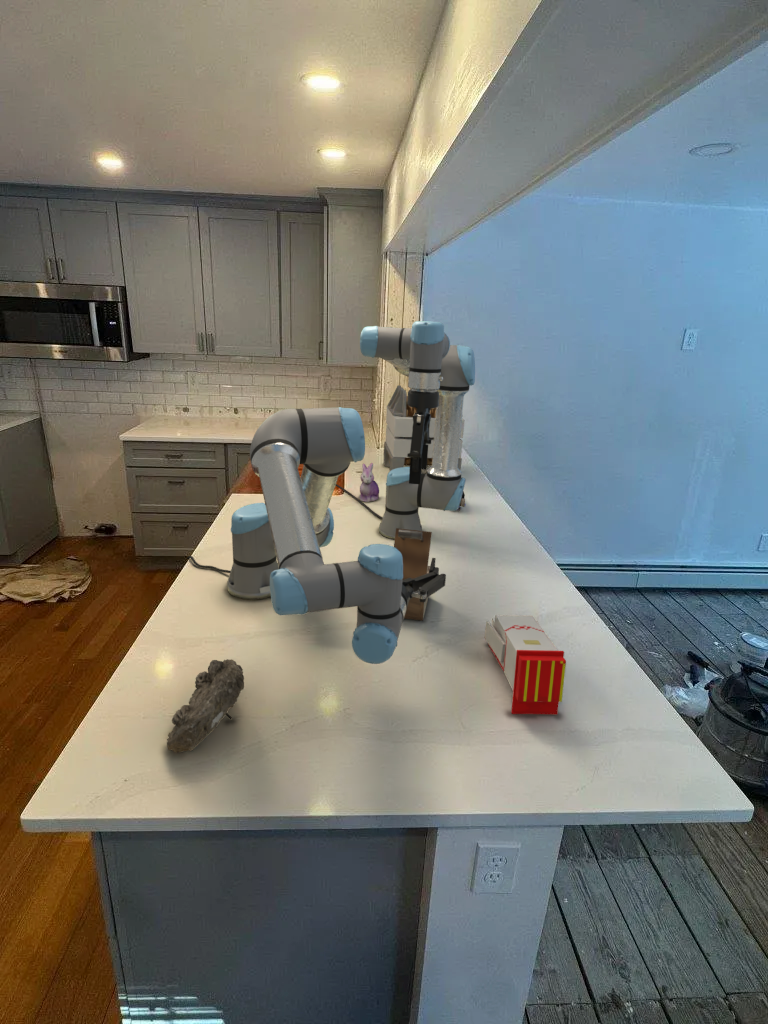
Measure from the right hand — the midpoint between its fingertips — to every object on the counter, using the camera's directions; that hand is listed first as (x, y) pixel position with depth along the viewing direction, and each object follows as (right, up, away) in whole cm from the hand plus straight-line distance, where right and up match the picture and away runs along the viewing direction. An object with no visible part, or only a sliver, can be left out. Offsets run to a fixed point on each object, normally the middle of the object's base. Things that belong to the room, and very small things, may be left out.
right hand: (418, 476), depth 142 cm
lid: (-2, -20, +2) cm, 21 cm away
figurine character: (+20, -7, +88) cm, 91 cm away
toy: (+21, -45, -16) cm, 52 cm away
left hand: (-4, -20, -13) cm, 24 cm away
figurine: (-15, -4, +93) cm, 94 cm away
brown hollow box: (-2, -34, +10) cm, 36 cm away
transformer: (+9, +10, +133) cm, 134 cm away
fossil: (-41, -48, -34) cm, 72 cm away
